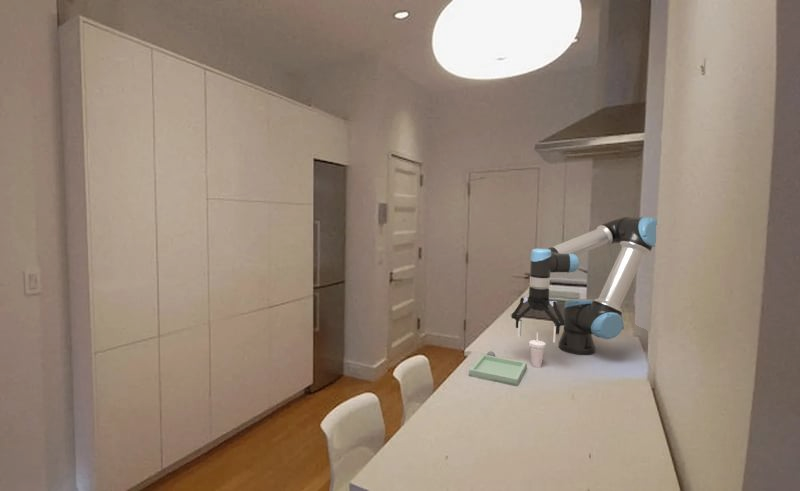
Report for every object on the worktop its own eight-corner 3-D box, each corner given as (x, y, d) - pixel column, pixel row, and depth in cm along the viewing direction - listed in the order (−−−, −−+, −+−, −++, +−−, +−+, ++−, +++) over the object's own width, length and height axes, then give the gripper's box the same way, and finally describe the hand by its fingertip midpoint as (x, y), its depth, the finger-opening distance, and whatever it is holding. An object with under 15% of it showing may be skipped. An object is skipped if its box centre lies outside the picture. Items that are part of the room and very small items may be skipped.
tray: (526, 368, 155) (526, 362, 154) (517, 386, 139) (517, 379, 139) (482, 360, 163) (482, 354, 163) (469, 375, 147) (469, 369, 147)
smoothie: (526, 366, 156) (528, 333, 155) (529, 361, 162) (530, 328, 161) (543, 370, 153) (545, 335, 152) (545, 364, 159) (547, 331, 158)
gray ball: (496, 359, 164) (496, 351, 164) (493, 362, 161) (494, 353, 161) (487, 357, 166) (488, 349, 166) (485, 360, 163) (485, 352, 162)
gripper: (573, 289, 152) (570, 341, 154) (509, 282, 164) (507, 331, 166) (572, 292, 145) (569, 347, 147) (505, 285, 157) (503, 336, 159)
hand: (536, 338), depth 156 cm, fingers open, 13 cm apart
